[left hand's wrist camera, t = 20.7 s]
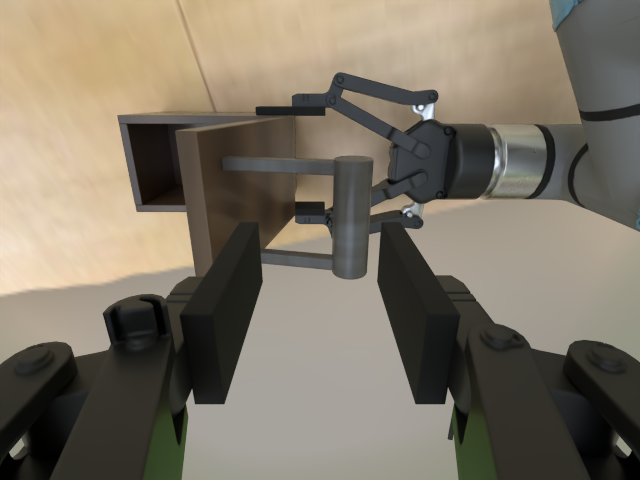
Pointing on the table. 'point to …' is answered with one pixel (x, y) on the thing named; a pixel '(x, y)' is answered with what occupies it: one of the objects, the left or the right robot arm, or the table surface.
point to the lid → (268, 193)
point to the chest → (165, 153)
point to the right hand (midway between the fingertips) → (261, 162)
